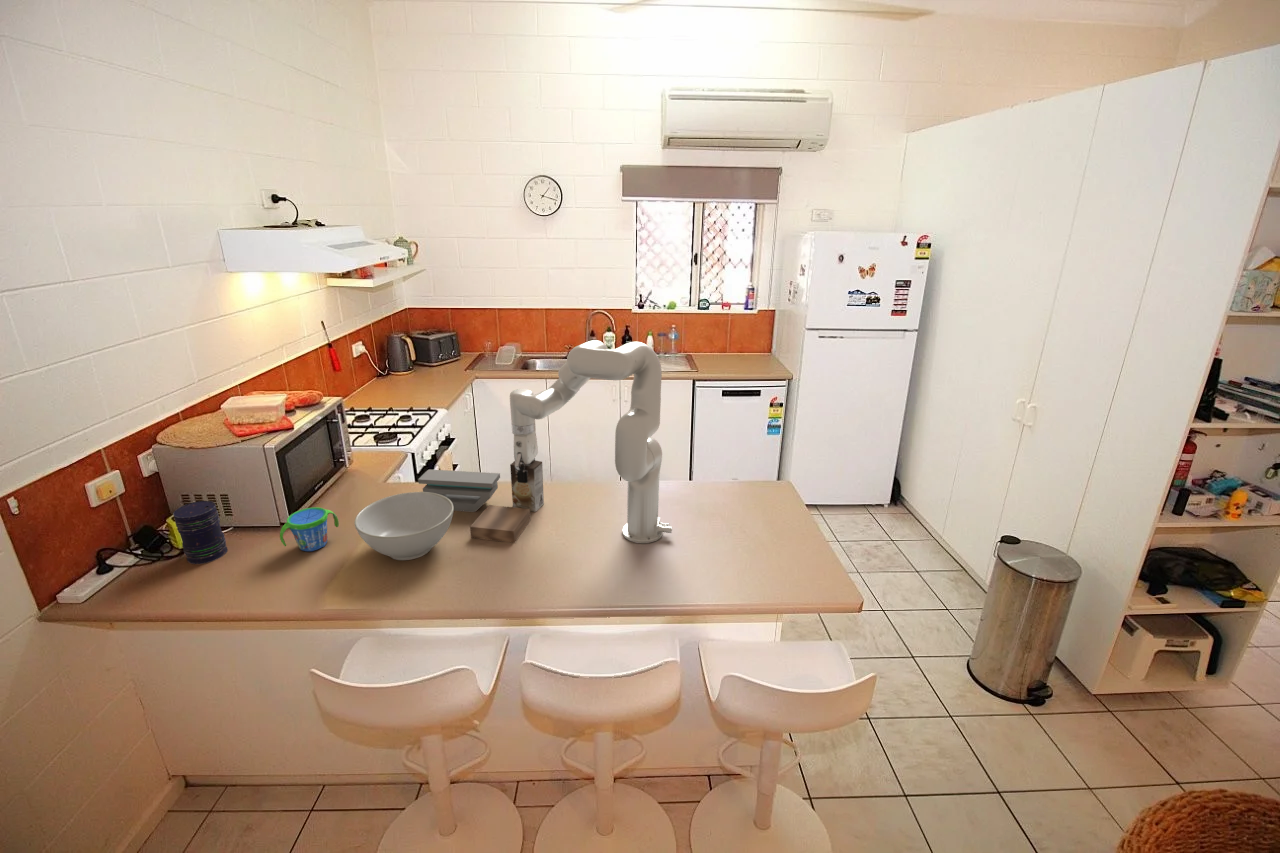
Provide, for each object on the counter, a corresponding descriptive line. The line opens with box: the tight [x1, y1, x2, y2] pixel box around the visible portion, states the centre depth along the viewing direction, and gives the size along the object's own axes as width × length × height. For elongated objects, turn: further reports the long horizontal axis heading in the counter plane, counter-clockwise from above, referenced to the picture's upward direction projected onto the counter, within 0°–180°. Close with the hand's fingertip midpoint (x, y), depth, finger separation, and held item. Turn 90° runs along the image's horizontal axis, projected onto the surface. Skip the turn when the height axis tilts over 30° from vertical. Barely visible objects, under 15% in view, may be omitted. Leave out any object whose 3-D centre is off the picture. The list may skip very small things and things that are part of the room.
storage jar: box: [172, 500, 228, 565], centre depth 169 cm, size 10×10×15 cm
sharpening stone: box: [417, 469, 501, 513], centre depth 199 cm, size 25×8×11 cm, turn 84°
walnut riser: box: [469, 504, 532, 544], centre depth 186 cm, size 14×14×4 cm
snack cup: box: [279, 506, 340, 552], centre depth 174 cm, size 16×10×10 cm
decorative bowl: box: [354, 491, 454, 561], centre depth 173 cm, size 27×27×12 cm
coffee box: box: [509, 459, 545, 513], centre depth 198 cm, size 9×6×16 cm
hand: (526, 477), depth 197 cm, fingers closed on coffee box, 7 cm apart
